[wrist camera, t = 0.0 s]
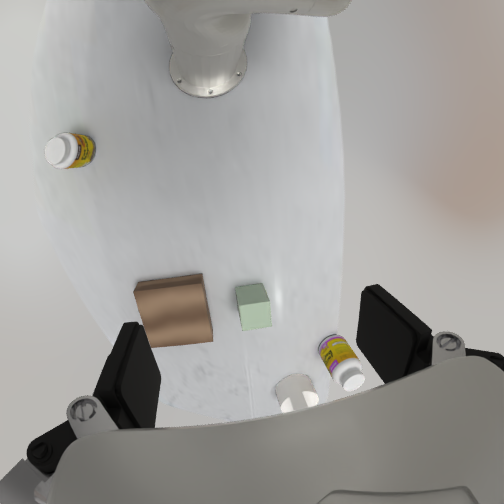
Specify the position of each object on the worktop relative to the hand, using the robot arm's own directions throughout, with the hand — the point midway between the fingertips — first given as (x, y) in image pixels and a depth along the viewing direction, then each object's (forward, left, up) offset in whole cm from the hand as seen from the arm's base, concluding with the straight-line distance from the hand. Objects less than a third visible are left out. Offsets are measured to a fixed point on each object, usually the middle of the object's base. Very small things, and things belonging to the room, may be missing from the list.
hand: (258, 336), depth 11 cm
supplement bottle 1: (-13, -23, -37) cm, 45 cm away
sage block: (+18, +3, -37) cm, 41 cm away
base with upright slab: (+45, +11, -37) cm, 59 cm away
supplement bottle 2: (+34, +20, -37) cm, 54 cm away
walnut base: (+18, -11, -37) cm, 42 cm away
